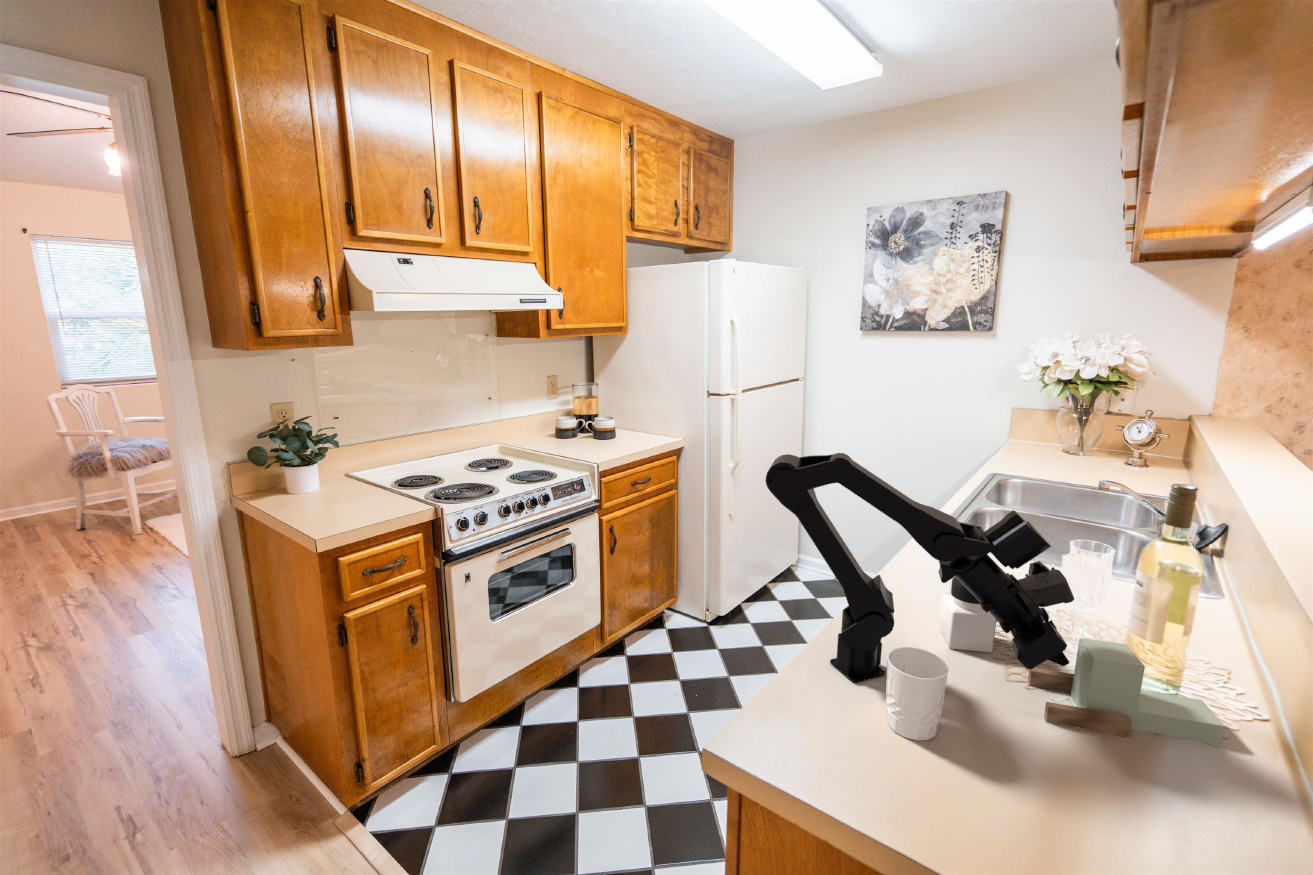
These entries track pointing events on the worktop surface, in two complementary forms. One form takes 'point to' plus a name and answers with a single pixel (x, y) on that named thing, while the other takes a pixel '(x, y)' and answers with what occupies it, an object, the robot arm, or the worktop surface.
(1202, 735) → the key block
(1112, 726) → the walnut slot
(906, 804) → the worktop surface
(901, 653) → the white cup
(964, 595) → the medicine bottle
